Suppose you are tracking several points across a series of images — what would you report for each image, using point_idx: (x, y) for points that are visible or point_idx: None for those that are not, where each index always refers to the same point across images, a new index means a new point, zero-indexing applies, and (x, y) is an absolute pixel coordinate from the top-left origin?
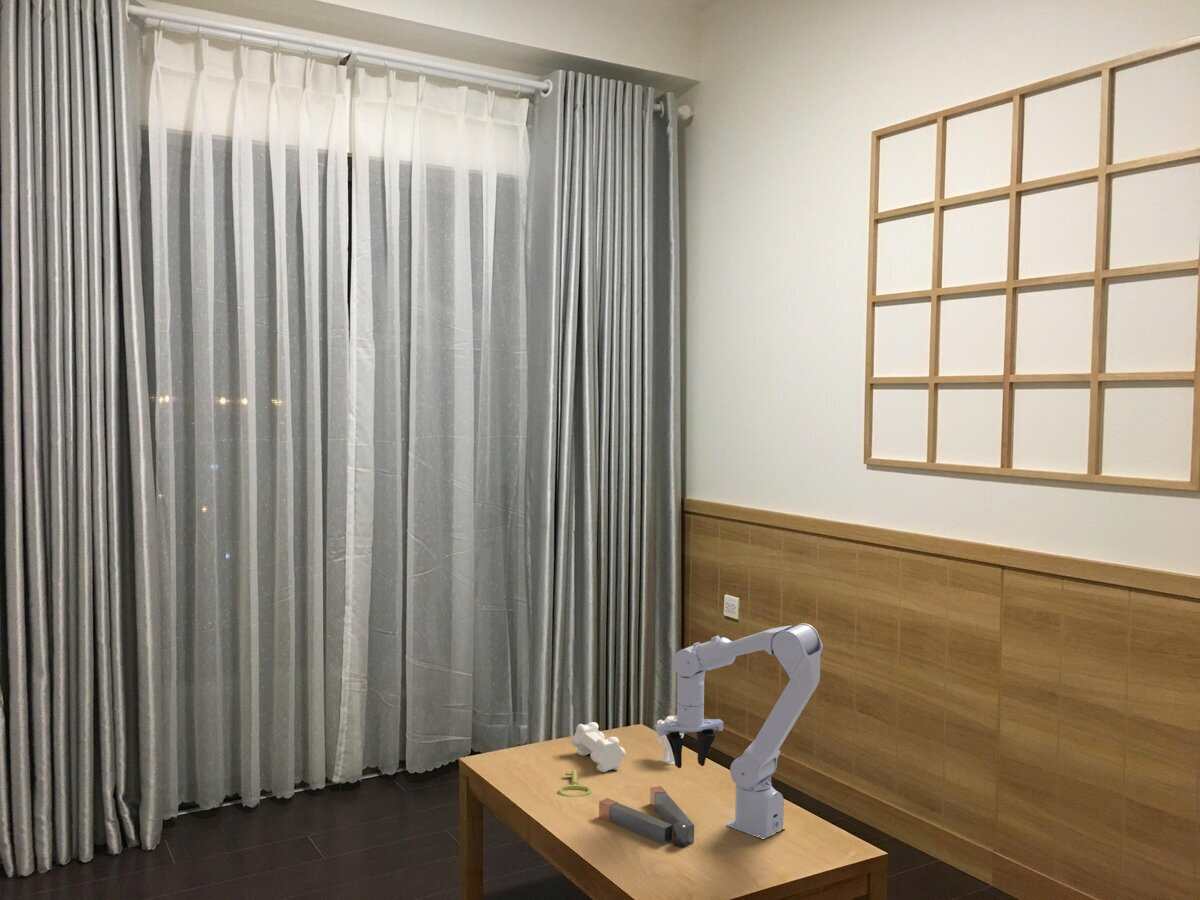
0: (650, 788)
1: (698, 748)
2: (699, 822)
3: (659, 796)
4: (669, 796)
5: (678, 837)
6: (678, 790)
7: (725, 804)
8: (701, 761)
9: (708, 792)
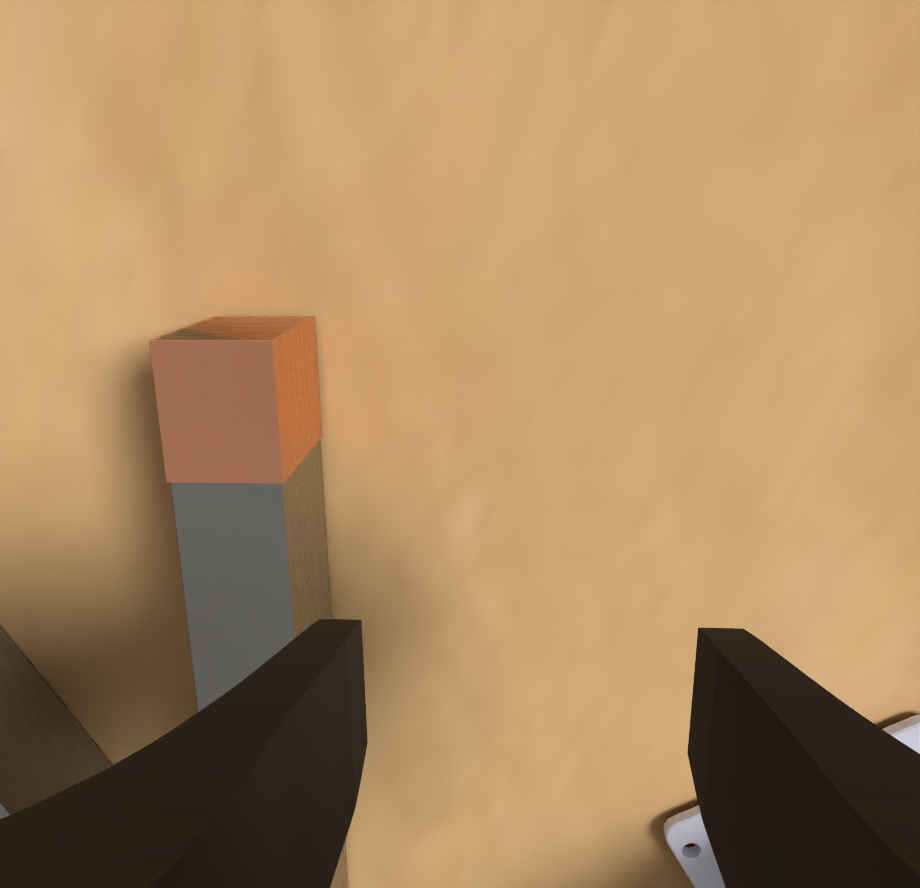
0: (154, 343)
1: (788, 755)
2: (503, 712)
3: (195, 566)
4: (290, 587)
5: None
6: (581, 45)
7: (864, 472)
8: (703, 803)
9: (854, 172)
